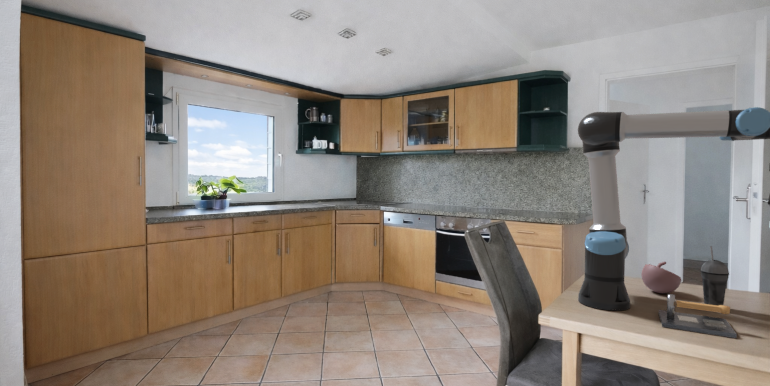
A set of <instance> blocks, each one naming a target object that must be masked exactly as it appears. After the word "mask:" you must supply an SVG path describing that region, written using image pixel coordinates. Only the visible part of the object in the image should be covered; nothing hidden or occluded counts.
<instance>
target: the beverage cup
mask: <svg viewBox="0 0 770 386" xmlns="http://www.w3.org/2000/svg"><path fill="white" fill-rule="evenodd" d="M709 249H710V257H711V259H709V260H706V261H704V263H703V264H702V265H701V268H700V271H699V272H700V275H701V278H702V293H703V304H710V305H717V306H719V305H724V303H725V297H726V291H727V290H726V289H727V284H728V283H727V282H728V279H729V276H730V271H729V268H728V267H727V265H726V264H725V263H724V262H723V261H721V260H717V259H714V253H713V246H712V245H710V246H709Z"/></svg>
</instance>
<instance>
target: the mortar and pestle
mask: <svg viewBox="0 0 770 386" xmlns="http://www.w3.org/2000/svg"><path fill="white" fill-rule="evenodd" d="M666 264H667V261H662V262H659V263H658V264H657V265H653V264H651V263H650V264H649V263H647V264H645V265H644V266H643V268H642V270H641V280H642V282H643V284H644V285H645V286H646V288H648V289H649V290H650V291H652V292H655V293H658V294H671V293H672V292H675V291H676V290H677V289H678V288H679V287H680V285H681V282H682V277H681V276H679V275H677V274H675V273H673V272H671V271H669V270H667V269H665V268H664V267H662V266H666Z"/></svg>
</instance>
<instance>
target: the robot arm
mask: <svg viewBox="0 0 770 386" xmlns="http://www.w3.org/2000/svg"><path fill="white" fill-rule="evenodd" d="M577 134H578V137H579V139H580V140H581V141H582V151H583V156H585V157H586V158H587V159H588V169H589V181H590V195H591V197H590V198H591V207H592V210H591V211H592V220H593V221H592V222H593V223H592V225H591V226H590V227H589V228H588V229H589V230H588V231H589V233H588V234H586V236H585V240H584V249H585V250H584V279H583V281H582V284H581V287H580V290H579V291H578V297H577V298H578V302H579V303H580V304H582V305H584V306H587V307H589V308H594V309H599V310H604V311H605V310H606V311H626V310H629V309H630V308H631V298H630V296H629V294H628V290H627V287H626V284H625V269H626V268H625V263H626V258H627V257H628V255H629V251H630V246H629V243H628V240H627V239H628V237H627V236H628V235H627V227H626V226H625V224H623V223H621V214H620V199H619V198H620V197H619V187H618V174H617V163H616V155H618V153H619V152H620V150H621V149H620V143H621V142H623V141H624V140H625V139H669V138H670V139H672V138H673V139H676V138H719V140H721V141H731V142H735V141H752V140H770V111H769V110H767V109H766V108H763V107H758V106H757V107H756V106H755V107H749V108H745V109H731V110H708V111H705V110H704V111H686V112H685V111H684V112H683V111H682V112H663V113H644V114H643V113H638V114H626V113H625V112H624V111H619V112H618V111H616V112H614V111H596V112H590V113H588V114H587V115H585V116H584V117H583V118H581V120H580V122H579V123H578V127H577ZM768 165H769V171H768V172H770V164H768ZM767 205H769V206H770V194H769V197H768V200H767ZM768 226H769V229H770V222H769V225H768Z"/></svg>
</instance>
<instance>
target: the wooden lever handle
mask: <svg viewBox="0 0 770 386" xmlns="http://www.w3.org/2000/svg"><path fill="white" fill-rule="evenodd" d="M675 307H677V308H684V309H689V310H690V309H692V310H700V311H707V312H712V313H713V312H714V313H720V314H722V315H730V314H731V307H730V306H728V305H719V306H717V305H710V304H704V303H701V302H693V301H686V300H685V301H684V300H676V299H675Z"/></svg>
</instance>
